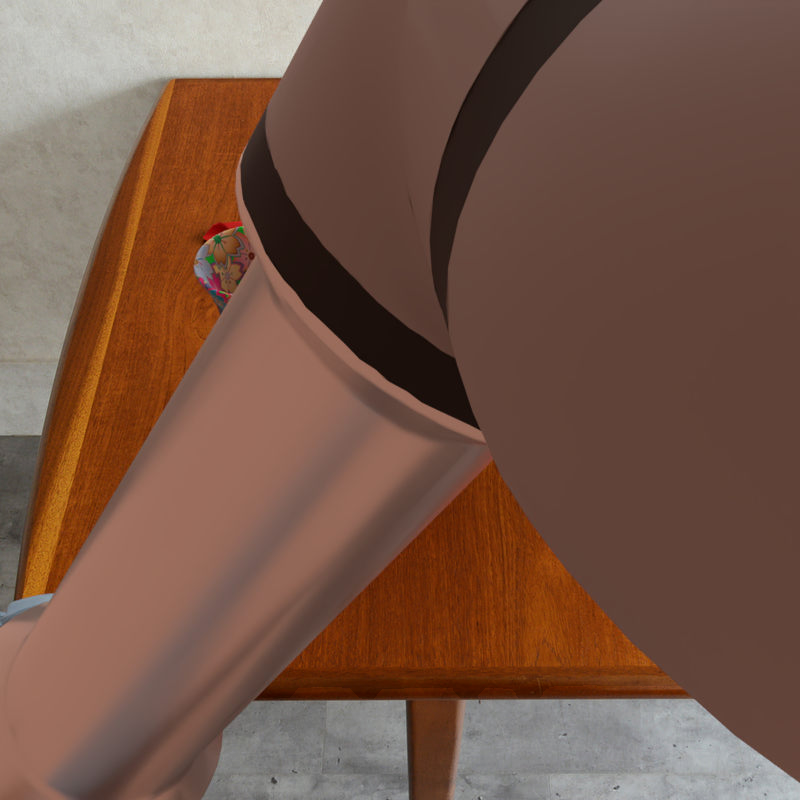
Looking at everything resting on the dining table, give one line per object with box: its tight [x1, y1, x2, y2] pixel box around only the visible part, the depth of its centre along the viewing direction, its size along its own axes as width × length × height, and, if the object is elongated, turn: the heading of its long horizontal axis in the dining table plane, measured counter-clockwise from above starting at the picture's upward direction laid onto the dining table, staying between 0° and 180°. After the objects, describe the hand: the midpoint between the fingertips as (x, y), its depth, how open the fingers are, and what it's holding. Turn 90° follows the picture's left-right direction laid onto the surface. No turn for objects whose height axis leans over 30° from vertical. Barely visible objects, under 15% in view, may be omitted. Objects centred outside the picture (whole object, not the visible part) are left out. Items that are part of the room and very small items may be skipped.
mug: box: [193, 226, 256, 316], centre depth 78 cm, size 12×9×11 cm
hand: (583, 59), depth 44 cm, fingers closed on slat, 3 cm apart
